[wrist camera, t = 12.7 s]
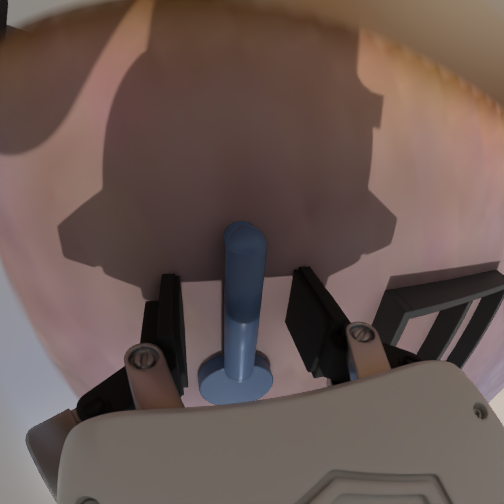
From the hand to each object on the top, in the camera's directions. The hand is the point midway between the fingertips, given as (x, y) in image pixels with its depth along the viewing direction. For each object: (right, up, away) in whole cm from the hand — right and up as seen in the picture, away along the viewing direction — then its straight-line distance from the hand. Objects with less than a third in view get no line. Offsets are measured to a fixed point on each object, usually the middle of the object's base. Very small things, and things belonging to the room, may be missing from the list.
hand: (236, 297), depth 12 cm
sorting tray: (+14, -8, +8) cm, 18 cm away
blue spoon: (0, -1, +1) cm, 2 cm away
